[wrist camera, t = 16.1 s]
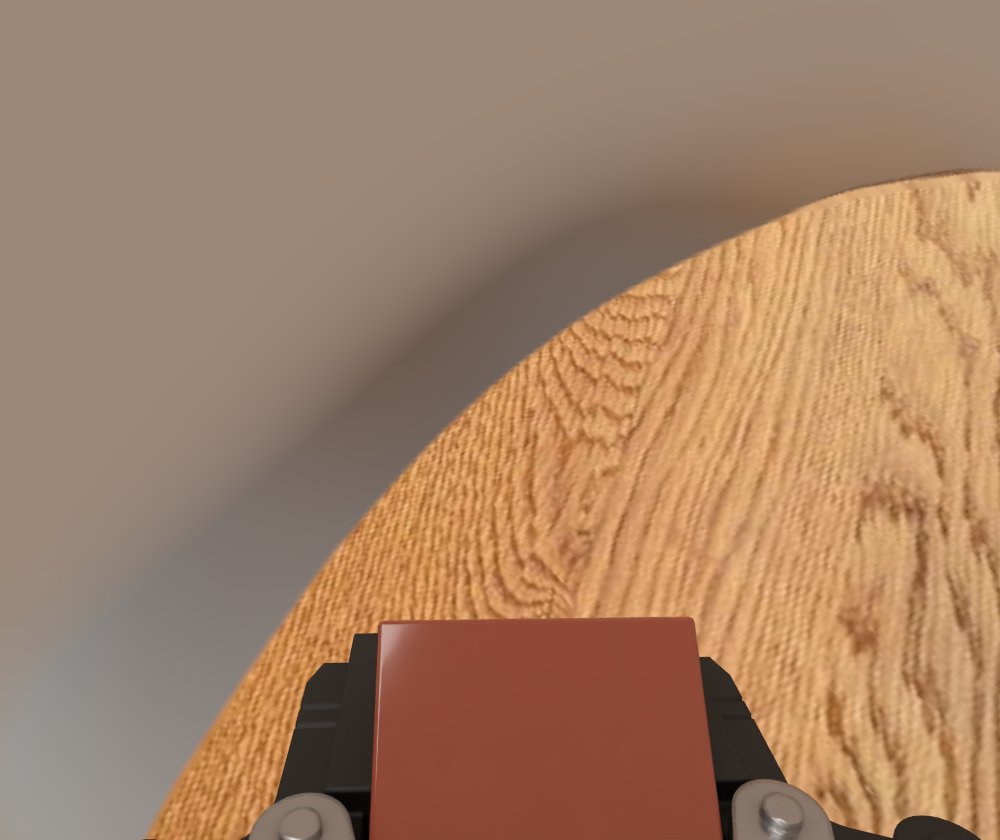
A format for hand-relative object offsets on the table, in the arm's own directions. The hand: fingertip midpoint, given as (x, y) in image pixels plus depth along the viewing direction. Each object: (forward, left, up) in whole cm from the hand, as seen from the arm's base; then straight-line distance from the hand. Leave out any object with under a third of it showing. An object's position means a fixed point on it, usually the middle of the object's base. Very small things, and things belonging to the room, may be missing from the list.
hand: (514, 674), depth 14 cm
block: (-1, -2, -4) cm, 5 cm away
